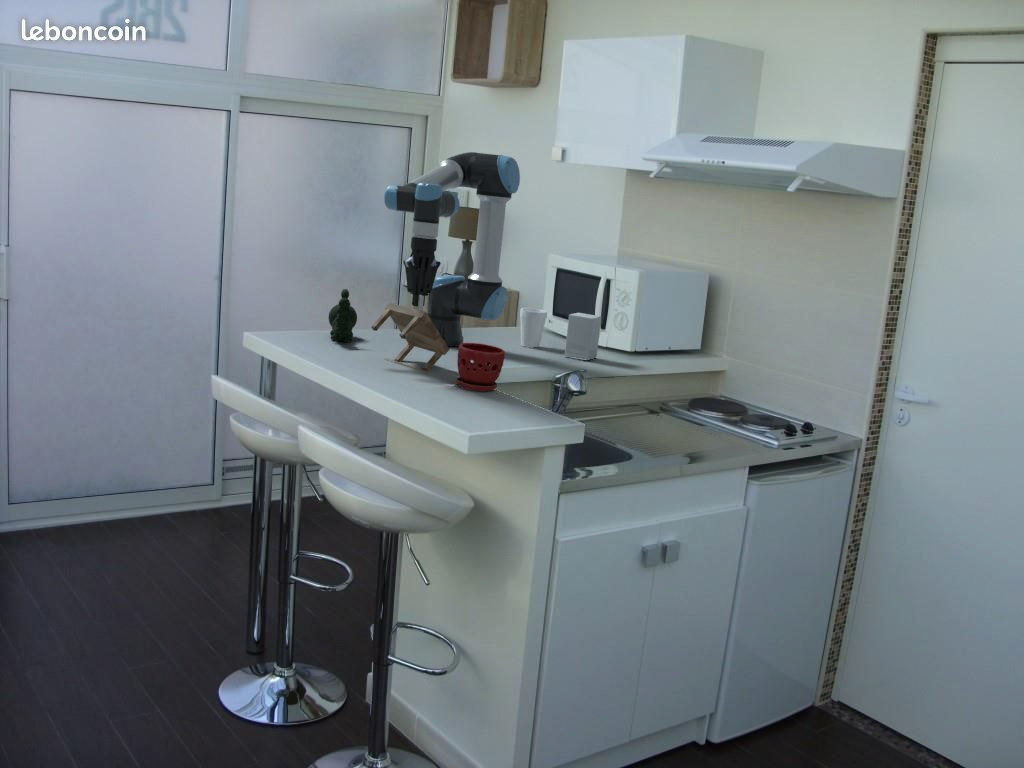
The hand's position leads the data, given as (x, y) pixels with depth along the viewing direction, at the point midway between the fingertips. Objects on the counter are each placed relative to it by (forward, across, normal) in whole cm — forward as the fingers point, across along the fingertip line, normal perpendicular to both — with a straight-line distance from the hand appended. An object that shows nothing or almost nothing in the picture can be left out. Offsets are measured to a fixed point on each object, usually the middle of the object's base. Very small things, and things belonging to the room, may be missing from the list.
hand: (416, 316), depth 326 cm
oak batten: (+16, +2, -1) cm, 16 cm away
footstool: (+12, -4, -1) cm, 13 cm away
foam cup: (+15, -70, -16) cm, 74 cm away
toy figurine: (+15, -8, -45) cm, 48 cm away
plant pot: (+16, -1, +27) cm, 31 cm away
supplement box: (+15, -73, +5) cm, 75 cm away
